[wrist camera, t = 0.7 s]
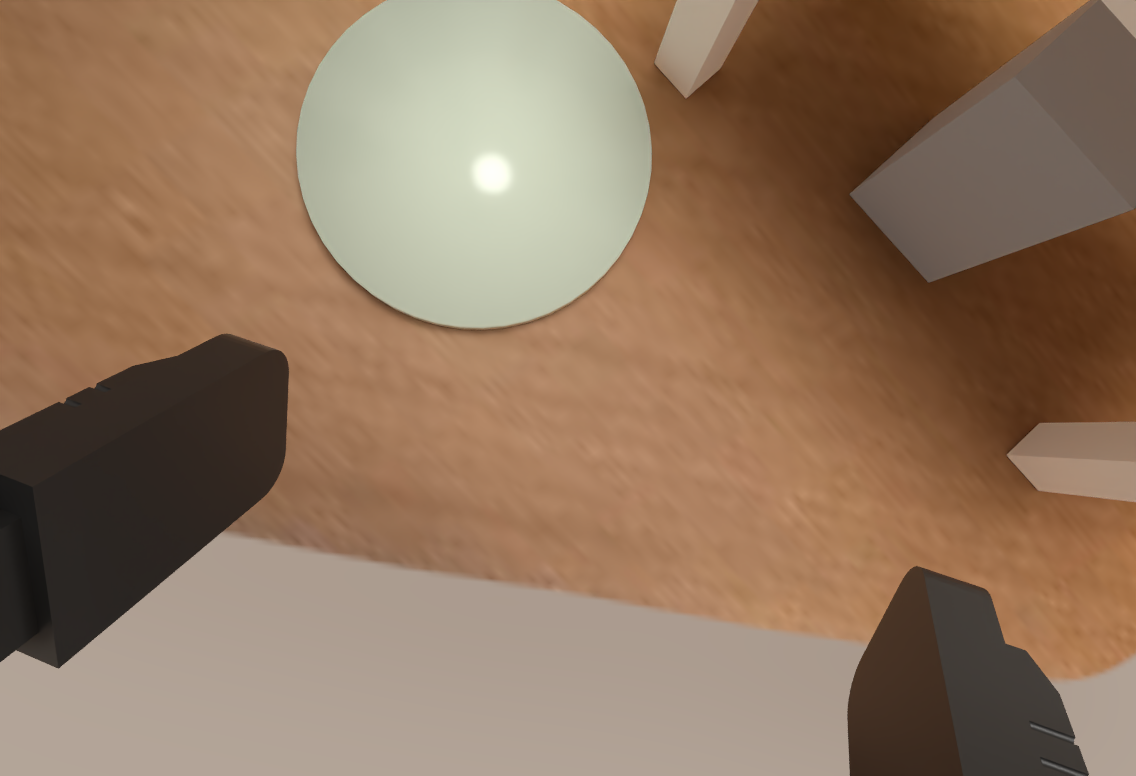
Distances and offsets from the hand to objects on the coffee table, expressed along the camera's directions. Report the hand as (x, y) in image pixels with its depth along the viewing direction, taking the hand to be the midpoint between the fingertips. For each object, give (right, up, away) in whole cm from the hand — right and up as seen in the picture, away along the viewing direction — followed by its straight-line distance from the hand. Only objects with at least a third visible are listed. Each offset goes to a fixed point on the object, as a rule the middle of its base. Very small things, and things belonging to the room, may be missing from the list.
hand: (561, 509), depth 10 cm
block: (+15, +9, +23) cm, 29 cm away
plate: (-4, +11, +22) cm, 25 cm away
